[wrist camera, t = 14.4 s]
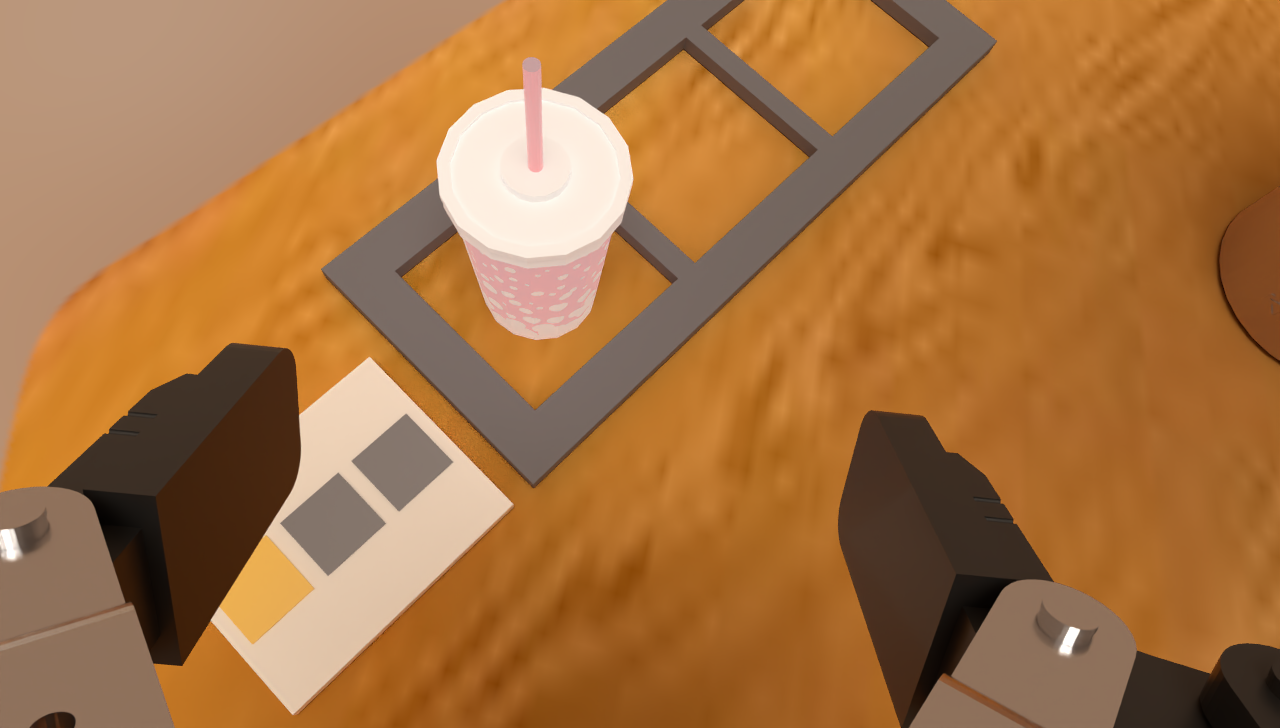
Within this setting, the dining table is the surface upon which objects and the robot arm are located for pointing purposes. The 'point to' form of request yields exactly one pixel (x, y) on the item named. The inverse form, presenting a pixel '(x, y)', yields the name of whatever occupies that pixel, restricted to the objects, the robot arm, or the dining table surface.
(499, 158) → the beverage cup
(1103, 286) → the dining table surface
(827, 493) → the dining table surface
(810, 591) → the dining table surface
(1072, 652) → the robot arm
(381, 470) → the card
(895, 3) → the grey flat frame
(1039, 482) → the dining table surface
